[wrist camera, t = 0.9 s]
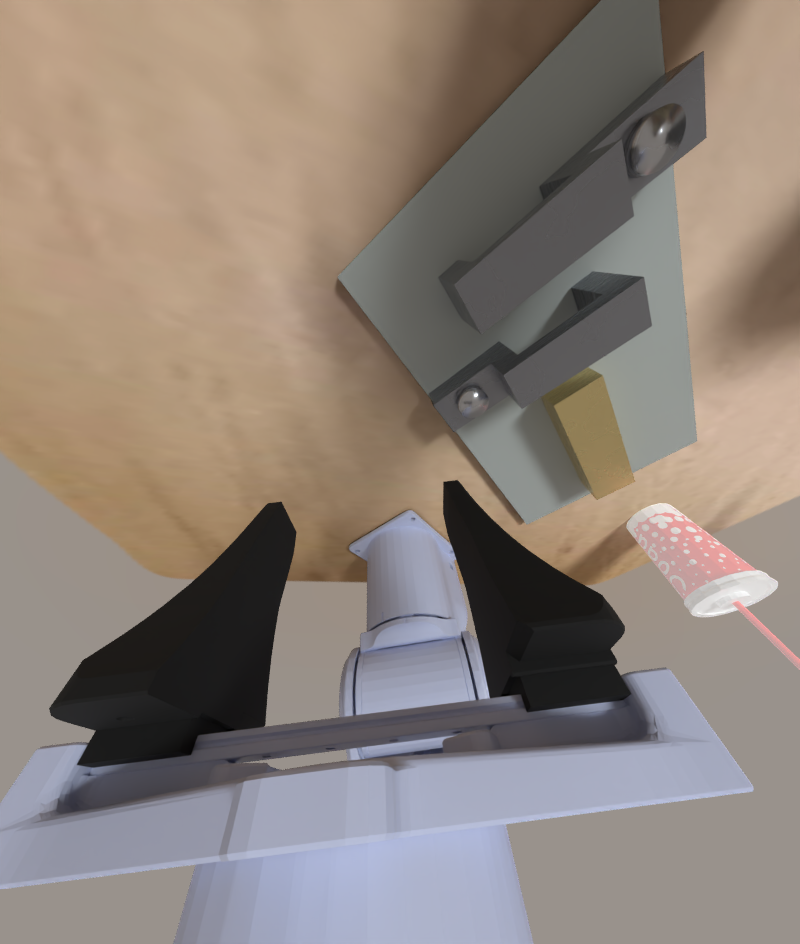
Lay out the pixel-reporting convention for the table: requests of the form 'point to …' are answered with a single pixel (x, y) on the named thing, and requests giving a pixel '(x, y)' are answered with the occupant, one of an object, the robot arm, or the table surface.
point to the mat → (623, 252)
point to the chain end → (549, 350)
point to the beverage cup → (702, 567)
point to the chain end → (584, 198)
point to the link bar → (590, 432)
